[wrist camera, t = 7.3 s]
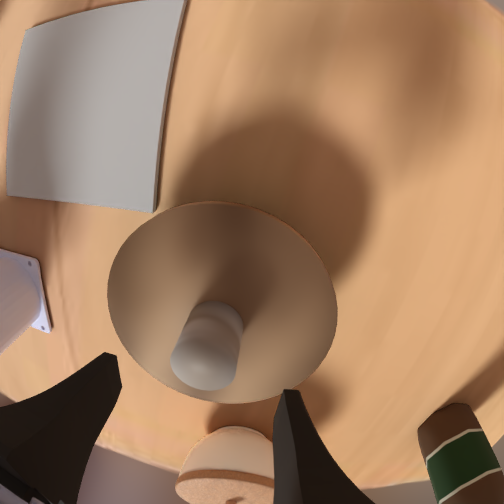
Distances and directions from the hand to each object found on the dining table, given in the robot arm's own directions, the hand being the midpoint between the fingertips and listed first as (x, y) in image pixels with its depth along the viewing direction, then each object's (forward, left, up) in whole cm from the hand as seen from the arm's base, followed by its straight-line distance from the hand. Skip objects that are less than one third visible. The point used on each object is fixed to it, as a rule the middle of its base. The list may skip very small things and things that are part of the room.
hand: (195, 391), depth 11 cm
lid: (0, 0, -6) cm, 6 cm away
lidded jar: (+3, -19, -10) cm, 22 cm away
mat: (-13, +12, -10) cm, 20 cm away
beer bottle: (+27, -15, -10) cm, 33 cm away
